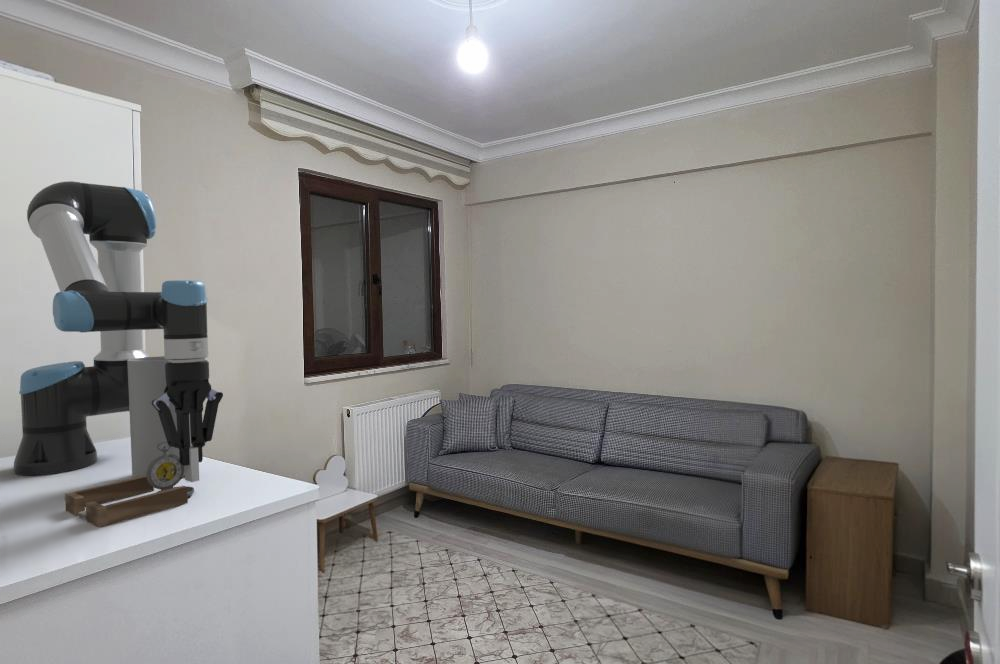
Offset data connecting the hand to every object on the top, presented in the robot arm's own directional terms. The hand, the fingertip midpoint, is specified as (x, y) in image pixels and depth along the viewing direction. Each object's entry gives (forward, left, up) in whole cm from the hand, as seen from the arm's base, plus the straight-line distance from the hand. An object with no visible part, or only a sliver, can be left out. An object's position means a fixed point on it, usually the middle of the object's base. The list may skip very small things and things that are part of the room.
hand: (192, 480), depth 115 cm
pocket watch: (0, -4, -2) cm, 5 cm away
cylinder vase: (-16, +2, -2) cm, 16 cm away
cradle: (0, -12, -2) cm, 12 cm away
